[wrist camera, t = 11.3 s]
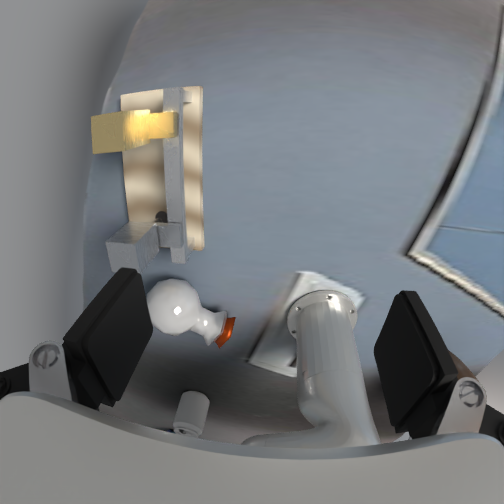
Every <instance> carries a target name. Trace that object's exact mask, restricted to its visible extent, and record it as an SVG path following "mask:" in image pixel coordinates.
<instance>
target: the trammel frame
mask: <svg viewBox="0 0 504 504" xmlns="http://www.w3.org/2000/svg"><path fill="white" fill-rule="evenodd" d="M191 102H192V92H191V91H186V90H184V88H181V87H175V88H165V89H163V112H177V137H175V138H163V147H164V172H165V190H166V205H167V217H168V223H162V220H161V219H160V218H156V219H155V220H154V221H153V222H152V223H150V222H128V223H127V224H126V225H124V226H123V227H122V228H121V229H120V230H118V231H117V232H116V233H115V234H114V235H113V236H111V237H110V238H109V239H108V240H107V241H106V247H107V252H108V256H109V261H110V265H111V270H112V272H117V271H118V270H119V269H120V268H121V267H125V268H133V269H136V270H137V272H138V273H140V274H142V273H143V272H144V270H145V269H146V268H147V266H148V265H149V264H150V262H151V261H152V260H153V259H154V257H155V256H156V255H157V254H158V252H159V247H170V249H171V257H172V263H181V264H186V262H187V261H188V259H189V256H190V254H191V252H192V251H193V249H194V247H195V237H190V236H187V228H186V211H185V191H184V160H183V103H191Z"/></svg>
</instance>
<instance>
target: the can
mask: <svg viewBox="0 0 504 504" xmlns="http://www.w3.org/2000/svg"><path fill="white" fill-rule="evenodd" d="M209 403H210V401H209V399H208V398H207V397H206V396H205V395H204V394H202V393H200V392H197V391H188V392H185V393H183V394H182V396H181V399H180V403H179V406H178V409H177V412H176V415H175V418H174V422H173V427H174V428H175V429H174V432H175V433H176V434H179V435H183V436H188V437H193V438H198V437H199V435H201V434H202V433H203V429H204V424H205V420H206V416H207V412H208V408H209Z"/></svg>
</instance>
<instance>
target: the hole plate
mask: <svg viewBox="0 0 504 504" xmlns="http://www.w3.org/2000/svg"><path fill="white" fill-rule="evenodd" d="M181 88H184V90H186V91H191V92H192V102H191V103H183V160H184V191H185V211H186V228H187V236H190V237H195V247H194V249H193V250H199V251H202V250H203V248H204V225H203V191H202V103H203V87H201V86H192V87H181ZM131 110H150V114H152V113H163V89H160V90H151V91H144V92H137V93H131V94H125V95H121V111H131ZM122 154H123V168H124V180H125V190H126V199H127V208H128V215H129V222H150V223H152V222H153V221H154V220H155V219H156V218H160V219H161V220H162V223H168V217H167V205H166V190H165V172H164V147H163V138H158V139H150V143H149V144H146V145H142V146H139V147H136V148H133V149H129V150H126V151H122ZM163 248H170V247H163Z"/></svg>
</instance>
